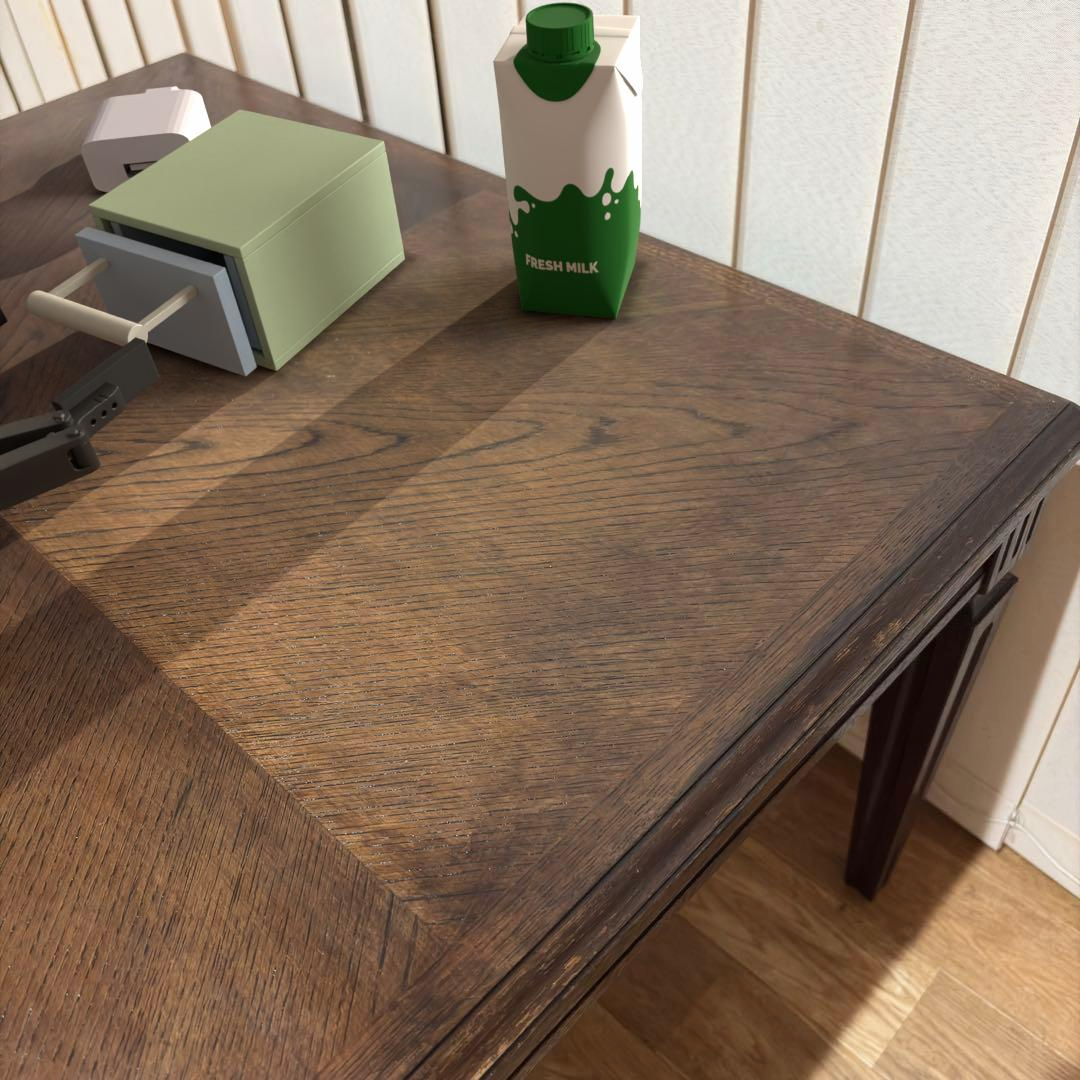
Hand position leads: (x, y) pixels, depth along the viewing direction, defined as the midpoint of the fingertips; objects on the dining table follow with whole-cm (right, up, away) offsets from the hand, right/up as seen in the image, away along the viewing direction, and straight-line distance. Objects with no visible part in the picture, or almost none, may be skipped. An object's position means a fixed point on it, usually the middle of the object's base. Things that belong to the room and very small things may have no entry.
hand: (69, 328), depth 66 cm
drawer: (+6, +3, +11) cm, 13 cm away
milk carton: (+32, +5, +13) cm, 35 cm away
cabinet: (+9, +6, +15) cm, 18 cm away
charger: (-6, +23, +33) cm, 40 cm away
